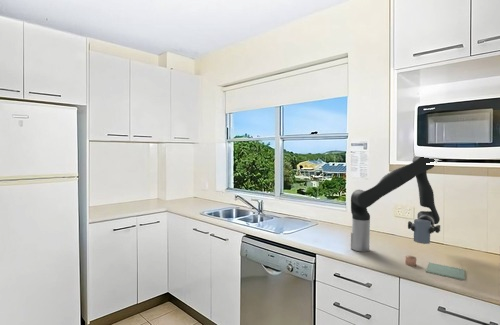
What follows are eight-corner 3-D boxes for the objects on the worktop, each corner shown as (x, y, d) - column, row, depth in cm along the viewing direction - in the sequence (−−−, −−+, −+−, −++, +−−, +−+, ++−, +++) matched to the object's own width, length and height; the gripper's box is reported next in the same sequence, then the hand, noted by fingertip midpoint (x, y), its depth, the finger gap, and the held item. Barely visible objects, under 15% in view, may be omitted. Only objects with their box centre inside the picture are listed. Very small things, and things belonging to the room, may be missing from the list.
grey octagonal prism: (413, 242, 137) (413, 221, 137) (414, 238, 143) (415, 218, 142) (429, 244, 134) (429, 223, 133) (430, 241, 139) (430, 220, 138)
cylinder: (404, 264, 140) (404, 257, 140) (406, 261, 144) (406, 254, 144) (415, 266, 138) (415, 259, 137) (416, 263, 141) (416, 256, 141)
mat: (426, 272, 131) (426, 270, 131) (428, 263, 142) (428, 262, 142) (464, 280, 123) (464, 279, 123) (464, 270, 134) (464, 269, 133)
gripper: (409, 214, 154) (404, 220, 140) (442, 217, 145) (440, 224, 132) (409, 228, 154) (404, 235, 140) (441, 232, 145) (439, 240, 132)
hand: (421, 230), depth 136 cm, fingers closed on grey octagonal prism, 6 cm apart
